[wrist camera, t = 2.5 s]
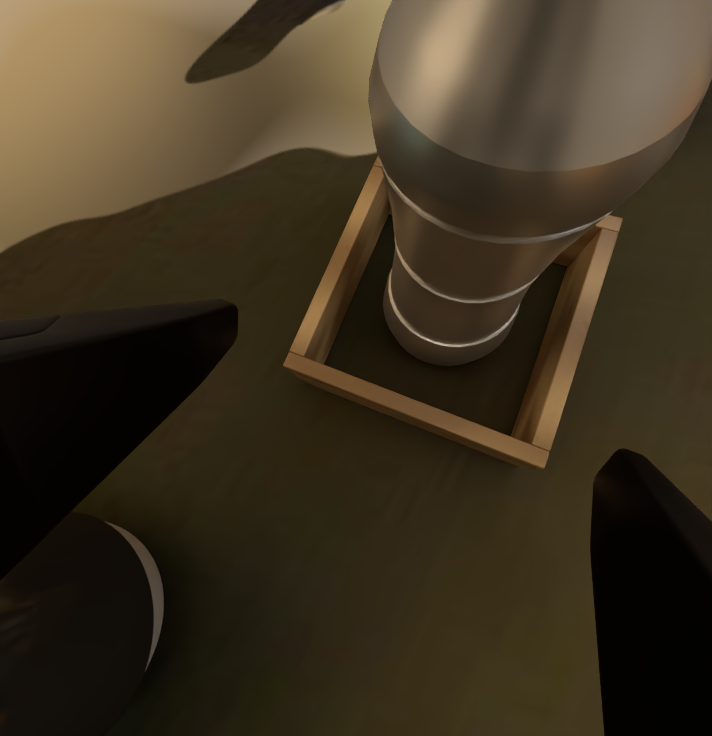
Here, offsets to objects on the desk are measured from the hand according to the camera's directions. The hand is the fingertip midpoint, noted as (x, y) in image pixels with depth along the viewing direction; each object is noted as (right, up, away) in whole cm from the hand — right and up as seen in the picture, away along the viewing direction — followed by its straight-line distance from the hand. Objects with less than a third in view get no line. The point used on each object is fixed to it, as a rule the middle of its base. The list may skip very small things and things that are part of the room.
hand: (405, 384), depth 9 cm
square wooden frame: (+4, +3, +14) cm, 15 cm away
